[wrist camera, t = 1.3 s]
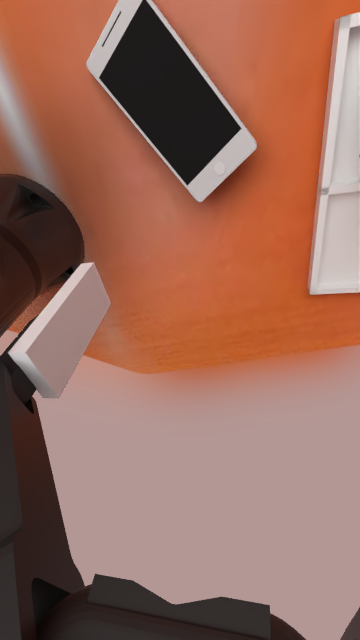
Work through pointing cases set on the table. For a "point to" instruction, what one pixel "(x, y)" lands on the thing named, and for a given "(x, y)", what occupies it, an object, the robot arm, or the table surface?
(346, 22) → the dock
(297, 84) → the table surface
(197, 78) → the smartphone
